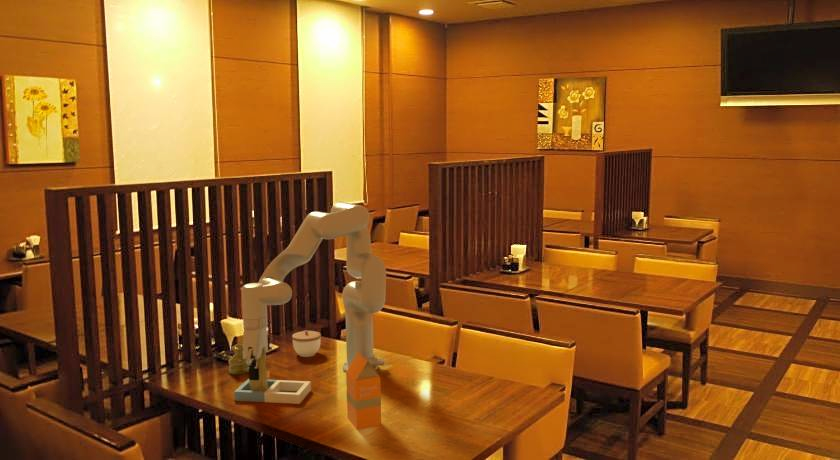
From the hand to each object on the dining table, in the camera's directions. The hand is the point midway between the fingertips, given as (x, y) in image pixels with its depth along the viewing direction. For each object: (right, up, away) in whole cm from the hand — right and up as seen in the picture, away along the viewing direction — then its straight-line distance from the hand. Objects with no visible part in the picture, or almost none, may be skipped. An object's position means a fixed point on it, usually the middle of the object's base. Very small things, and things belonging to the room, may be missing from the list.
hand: (258, 375), depth 227 cm
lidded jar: (+9, 0, +41) cm, 42 cm away
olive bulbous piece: (-12, -3, +23) cm, 26 cm away
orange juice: (+36, -9, -21) cm, 43 cm away
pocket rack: (+5, -6, 0) cm, 8 cm away
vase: (0, -5, +1) cm, 5 cm away
